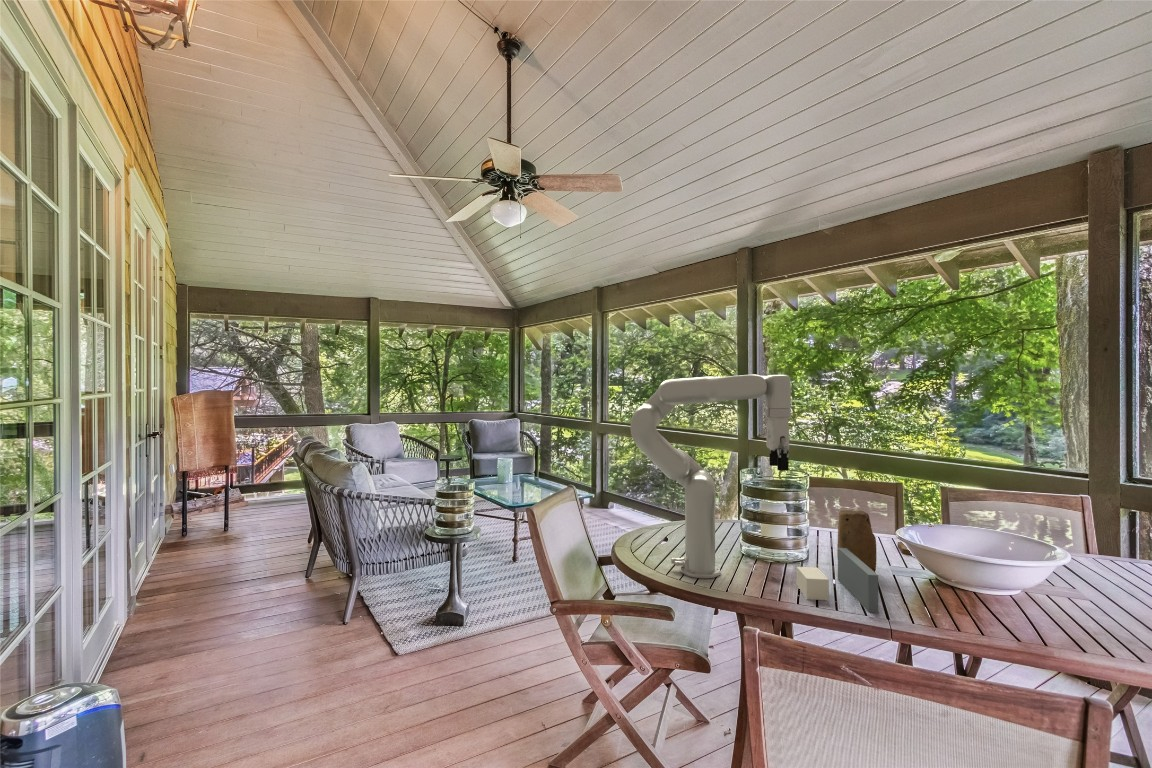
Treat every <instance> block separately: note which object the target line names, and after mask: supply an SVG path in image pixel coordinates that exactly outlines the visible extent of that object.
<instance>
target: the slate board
mask: <svg viewBox="0 0 1152 768" xmlns="http://www.w3.org/2000/svg"><path fill="white" fill-rule="evenodd" d="M837 550H838V557H837V581H838V582H839V583H840V584H841V585H842V586H843V587H844V588H845V589H846V590H847V592H848V593H850V594H851V595H852V596H853V597H854V599H855V600H856V601H857V602H858V603H859V604H860V605H861V606H862V607H863V608H864V609H865V611H867V612H868V613H876V614H877V613H879V574H878V573H876V571H875V572H874V571H873V570H872V569H870V568H869V567H868V566H867V565H866V564H864V563H863V562H862V561H861V560H860V559H859V558H857V557H856V556H855V555H854V554H853V553H851V552H850V551H849V550H848V549H847V548H838V549H837Z"/></svg>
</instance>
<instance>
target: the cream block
mask: <svg viewBox="0 0 1152 768" xmlns="http://www.w3.org/2000/svg"><path fill="white" fill-rule="evenodd" d="M797 586H798V587H797ZM796 587H797V588H798V590H799V589H800V590H801V591H800V590H799V591H800V592H801V593H803V594H804V595H803V594H802V595H803V596H804V598H805V597H806V598H807V599H806V598H805V599H806V600H814V599H815V601H816V600H819V601H829V599H830V592H829V591H830V580H829V578H828V577H827V576H826V575H825V574H824V573H823V572H822V571H821V570H820V569H819V568H818V567H817V566H816V567H814V566H813V567H810V566H796Z"/></svg>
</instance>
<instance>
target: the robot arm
mask: <svg viewBox="0 0 1152 768" xmlns="http://www.w3.org/2000/svg"><path fill="white" fill-rule="evenodd" d="M791 388H792V387H791V377H790V375H788V374H769V375H759V374H755V373H754V374H753V373H752V374H743V375H731V376H730V375H729V376H712V375H711V376H699V377H685V378H684V377H683V378H673V379H666V380H664V381H662V382H661V383H660V384H659V386H658V388H657V389H656V390H655V392H654V393H653V394H652V395H651V396H650V397H649V398H648V399H647V400H646V401H645V402H644V403H643V404H642V405H640V406H639V407H637V408H636V409H635V411H634V412H633V414H632V417H631V421H630V435H631V438H632V440H633V442H634V444H635V446H636V447H638V449H639V450H640V451H641V452H642V453H643V455H645V456H646V457H647V459H649V460H650V462H652V463H653V464H654V465H655V466H656V467H657V468H658V470H660V471H661V472H662V473H663V474H664V475H665V477H667V478H668V479H670V480H672V481H676V482H677V483H678V484H679V485H680V486H681V487H682V488H683V489H684V514H685V515H684V521H685V522H684V523H685V524H684V525H685V526H684V528H685V529H684V530H685V531H684V535H685V537H684V538H685V539H684V540H685V541H684V542H685V543H684V545H685V550H684V551H685V552H684V553H685V554H683V556H680V557H679V558H678V557H671V559H670V563H671V564H672V565H674V564H675V565H674V566H678V567H680V572H681V573H682V574H683V575H685V576H687V577H691V578H695V579H713V578H716V577H718V576H720V575H721V569H720V568H719V567H718V566H717V565H716V498H717V497H716V495H717V492H716V484H715V481H714V479H713V477H712V476H711V474H710V473H709V472H708V471H706V469H704V468H703V467H702V466H701V465H700V464H699V463H698V462H697V461H696V460H695V459H694V458H692V456H691V455H689V454H688V453H687V452H686V451H685V450H682V449H680V448H675V446H673V445H672V444H671V443H670V442H669V441H668V440H667V439H666V438H665V437H664V436H663V435H662V434H661V433H659V431H658V429H657V426H658V425H660V423H661V422H662V421H663V420H664V419H665V417H667V415H669V414H670V412H671V411H673V410H674V408H675V407H677V405H692V404H694V405H695V404H706V403H716V402H723V401H725V402H726V401H737V400H738V401H739V400H754V399H759V398H761V397H762V398H763V397H764V398H765V399H764V400H765V403H764V405H765V407H764V408H765V419H767V421H766V422H767V423H766V442H765V443H766V448H767V449H768V450H769V466H771V467H777V471H779V472H780V471H783V472H786V471H787V472H788V471H789V470H790V469H789V467H790V464H789V463H790V462H789V457H790V456H789V450H790V427H789V426H790V425H789V420H791V419H792V406H791V405H792V403H791V402H792V398H791V397H792V396H791V395H792V394H791V393H792V392H791V391H792V390H791Z"/></svg>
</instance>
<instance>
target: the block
mask: <svg viewBox="0 0 1152 768" xmlns="http://www.w3.org/2000/svg"><path fill="white" fill-rule="evenodd" d="M837 524H838V525H837V547H836V548H837V552H836V553H837V557H836V558H838V548H847V549H848V550H849V551H850V552H851V553H853V554H854V555H855V556H856V557H857V558H859V559H860V560H861V561H862V562H863V563H864V564H866V565H867V566H868V567H869V568H870V569H872V570H873V571H874V572H875V573H876V570H877V538H876V536H875V534H874V533H873V529H872V524H871V519H870V516H869V513H867V512H866V511H863V510H853V509H847V510H846V509H844V510H840V511H839V512H838V523H837Z"/></svg>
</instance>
